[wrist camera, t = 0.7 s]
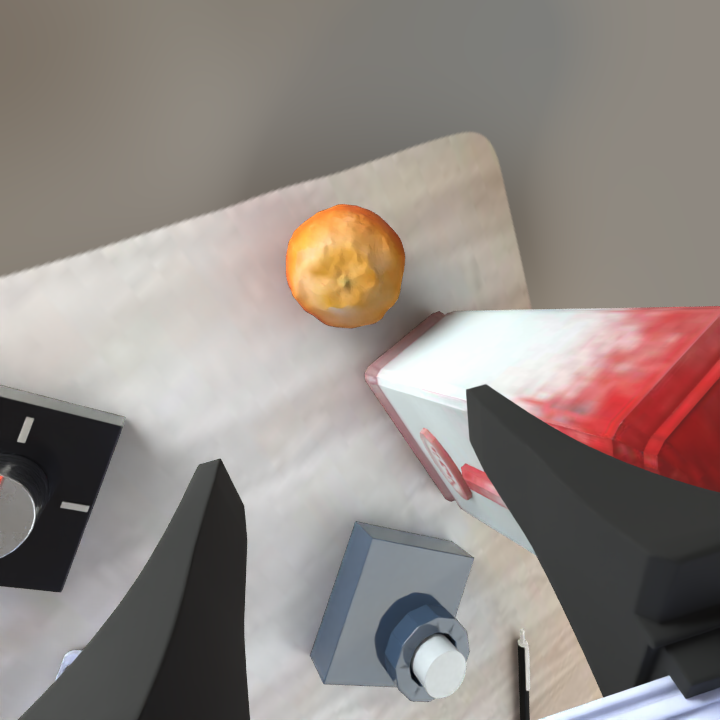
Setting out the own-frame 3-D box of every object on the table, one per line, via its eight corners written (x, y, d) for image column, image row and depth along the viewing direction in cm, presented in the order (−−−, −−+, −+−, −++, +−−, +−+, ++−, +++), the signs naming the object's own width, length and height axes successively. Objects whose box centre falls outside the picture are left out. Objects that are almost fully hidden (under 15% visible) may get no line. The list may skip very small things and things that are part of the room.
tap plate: (69, 567, 30) (60, 594, 27) (-111, 545, 26) (-144, 573, 23) (125, 416, 30) (122, 427, 27) (-44, 373, 27) (-68, 380, 24)
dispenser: (419, 663, 41) (452, 706, 37) (309, 655, 37) (331, 703, 32) (458, 542, 42) (496, 569, 37) (355, 520, 38) (383, 548, 33)
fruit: (419, 255, 36) (436, 288, 29) (343, 318, 38) (341, 363, 31) (350, 170, 33) (350, 183, 26) (272, 244, 36) (252, 274, 29)
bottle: (515, 431, 44) (1128, 624, 16) (437, 508, 41) (1021, 899, 13) (440, 301, 39) (1113, 267, 12) (347, 378, 36) (946, 567, 9)
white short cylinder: (442, 680, 37) (457, 699, 35) (404, 678, 35) (418, 698, 33) (456, 635, 37) (472, 652, 35) (419, 631, 35) (434, 648, 34)
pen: (522, 625, 46) (530, 632, 45) (527, 796, 48) (535, 807, 47) (515, 628, 45) (523, 635, 44) (520, 801, 48) (528, 811, 47)
